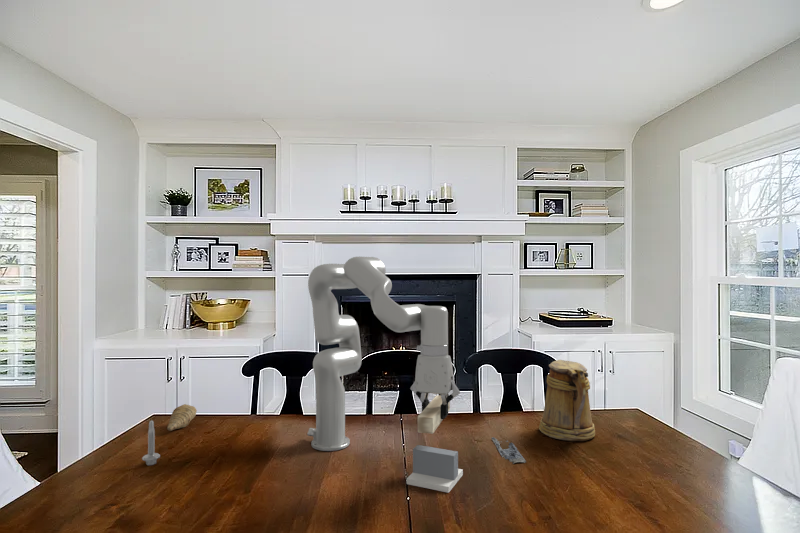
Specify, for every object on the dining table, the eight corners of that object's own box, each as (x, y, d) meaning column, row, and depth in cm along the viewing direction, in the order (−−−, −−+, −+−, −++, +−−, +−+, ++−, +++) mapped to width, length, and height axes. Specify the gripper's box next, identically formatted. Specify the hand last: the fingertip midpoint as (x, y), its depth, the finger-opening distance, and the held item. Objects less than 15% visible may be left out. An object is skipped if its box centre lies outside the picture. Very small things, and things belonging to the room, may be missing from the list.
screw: (156, 459, 146) (162, 463, 142) (139, 463, 142) (145, 468, 139) (156, 416, 146) (162, 420, 143) (139, 420, 142) (145, 423, 139)
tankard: (577, 423, 179) (577, 357, 179) (613, 446, 156) (612, 370, 156) (531, 425, 177) (531, 358, 177) (560, 449, 154) (560, 371, 154)
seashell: (183, 435, 167) (183, 412, 167) (159, 435, 167) (159, 412, 167) (198, 422, 181) (198, 401, 181) (176, 423, 181) (176, 402, 181)
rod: (417, 432, 121) (417, 416, 121) (436, 408, 142) (436, 395, 142) (432, 433, 120) (432, 417, 120) (449, 409, 141) (449, 396, 141)
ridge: (406, 484, 128) (406, 454, 128) (423, 467, 139) (423, 440, 139) (448, 492, 123) (448, 461, 123) (462, 474, 134) (462, 446, 134)
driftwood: (527, 466, 142) (527, 459, 142) (504, 466, 142) (504, 459, 142) (511, 442, 162) (511, 435, 162) (491, 442, 162) (491, 435, 162)
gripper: (401, 350, 132) (401, 416, 132) (459, 354, 125) (459, 424, 124) (412, 346, 139) (412, 409, 138) (467, 350, 131) (468, 416, 131)
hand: (435, 416), depth 131 cm, fingers closed on rod, 4 cm apart
